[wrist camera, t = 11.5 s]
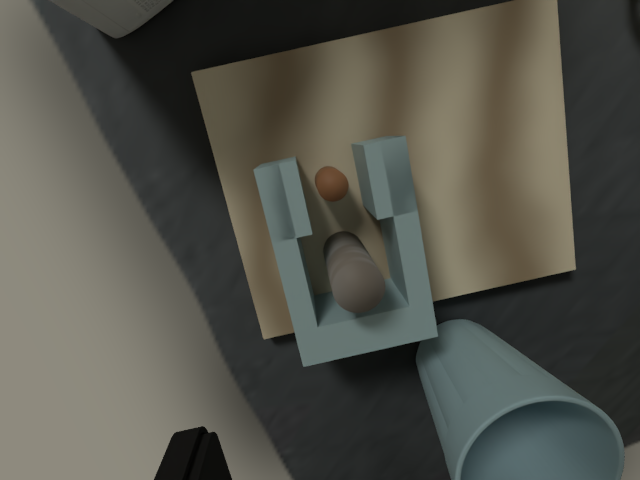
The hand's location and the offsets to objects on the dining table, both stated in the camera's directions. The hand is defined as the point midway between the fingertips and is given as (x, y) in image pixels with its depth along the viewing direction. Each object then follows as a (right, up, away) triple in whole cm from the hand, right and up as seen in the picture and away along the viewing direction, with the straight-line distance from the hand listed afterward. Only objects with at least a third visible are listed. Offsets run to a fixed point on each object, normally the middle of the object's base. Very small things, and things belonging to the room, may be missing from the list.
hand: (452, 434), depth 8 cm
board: (+2, +8, +17) cm, 19 cm away
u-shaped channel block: (-1, +3, +17) cm, 17 cm away
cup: (+7, -4, +20) cm, 22 cm away
